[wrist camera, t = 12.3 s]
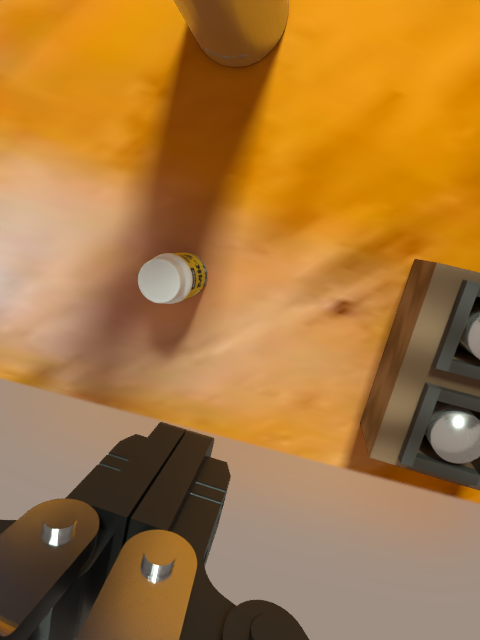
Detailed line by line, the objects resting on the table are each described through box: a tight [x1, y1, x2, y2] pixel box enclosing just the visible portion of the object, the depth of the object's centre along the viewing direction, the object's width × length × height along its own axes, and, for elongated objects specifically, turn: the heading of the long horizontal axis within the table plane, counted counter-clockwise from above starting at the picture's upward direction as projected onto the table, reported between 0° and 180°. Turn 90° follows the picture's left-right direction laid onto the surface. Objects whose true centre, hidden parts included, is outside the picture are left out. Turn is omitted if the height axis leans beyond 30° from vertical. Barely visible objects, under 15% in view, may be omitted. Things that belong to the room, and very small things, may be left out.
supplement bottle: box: [138, 252, 208, 304], centre depth 39 cm, size 5×5×8 cm
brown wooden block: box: [360, 259, 480, 490], centre depth 36 cm, size 18×12×8 cm, turn 167°
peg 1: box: [425, 401, 480, 463], centre depth 36 cm, size 4×4×7 cm
